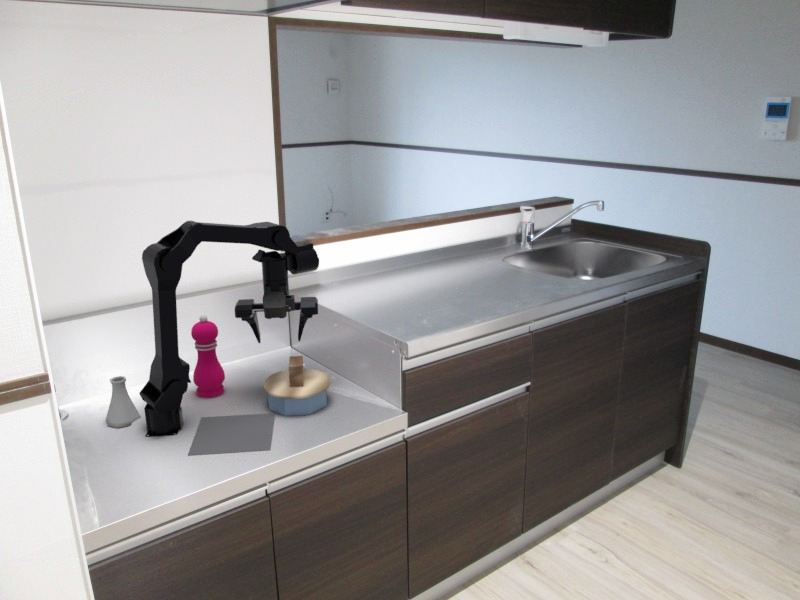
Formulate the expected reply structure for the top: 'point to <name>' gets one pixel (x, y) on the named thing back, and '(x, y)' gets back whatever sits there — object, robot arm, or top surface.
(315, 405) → the bowl
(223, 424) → the mat
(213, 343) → the pepper mill
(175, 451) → the top surface
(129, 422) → the flask
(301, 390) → the lid
